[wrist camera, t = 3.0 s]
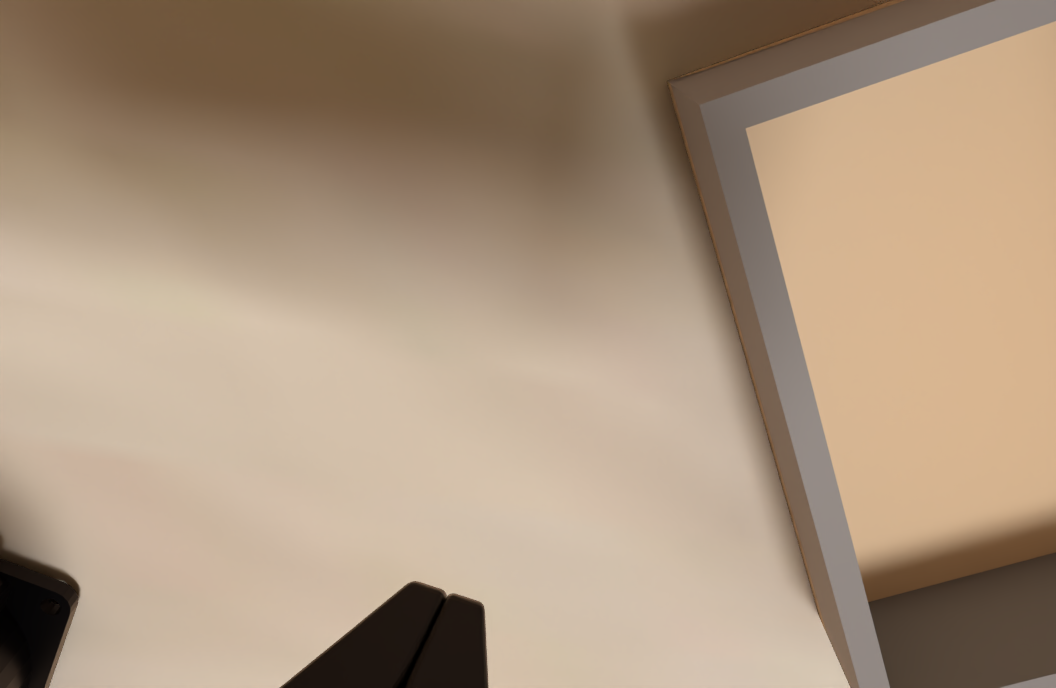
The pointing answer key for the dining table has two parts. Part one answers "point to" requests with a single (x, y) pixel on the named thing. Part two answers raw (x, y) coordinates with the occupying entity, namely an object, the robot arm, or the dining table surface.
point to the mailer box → (901, 321)
